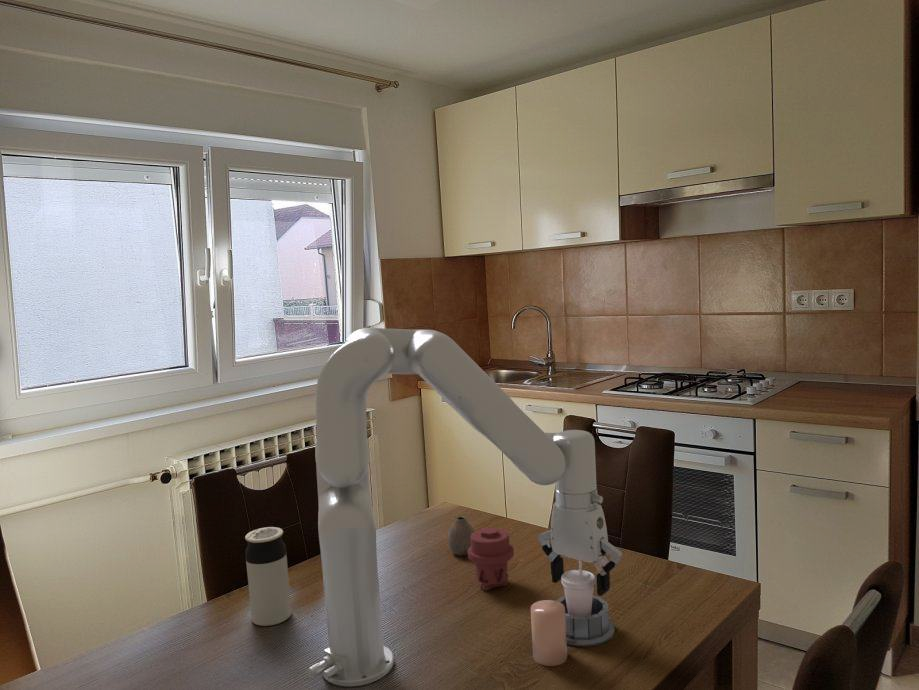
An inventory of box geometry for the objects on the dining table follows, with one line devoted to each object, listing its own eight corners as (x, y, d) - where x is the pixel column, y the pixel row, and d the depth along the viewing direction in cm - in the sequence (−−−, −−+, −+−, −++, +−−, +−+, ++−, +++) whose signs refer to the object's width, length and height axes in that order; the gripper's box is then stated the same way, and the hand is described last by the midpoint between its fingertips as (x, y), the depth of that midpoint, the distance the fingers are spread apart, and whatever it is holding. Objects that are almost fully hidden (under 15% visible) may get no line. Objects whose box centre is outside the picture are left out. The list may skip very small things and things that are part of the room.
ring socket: (594, 654, 124) (593, 628, 123) (537, 634, 131) (536, 610, 131) (626, 625, 133) (625, 601, 132) (571, 608, 140) (570, 585, 140)
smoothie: (603, 630, 130) (600, 558, 128) (571, 637, 128) (568, 563, 127) (588, 615, 136) (585, 545, 134) (557, 621, 134) (554, 550, 133)
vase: (445, 550, 174) (443, 515, 173) (471, 545, 176) (469, 511, 175) (453, 560, 168) (451, 524, 167) (480, 555, 170) (478, 520, 169)
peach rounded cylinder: (555, 669, 119) (552, 619, 119) (526, 659, 123) (523, 610, 122) (573, 654, 124) (571, 605, 123) (545, 644, 128) (542, 597, 127)
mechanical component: (471, 575, 159) (515, 574, 158) (467, 595, 149) (515, 594, 148) (468, 522, 158) (513, 521, 157) (464, 539, 148) (511, 538, 147)
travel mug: (298, 609, 147) (291, 527, 145) (279, 628, 139) (271, 541, 138) (265, 607, 149) (257, 525, 147) (244, 625, 142) (235, 539, 140)
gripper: (628, 499, 127) (631, 590, 128) (548, 485, 138) (552, 568, 140) (608, 512, 121) (612, 606, 123) (526, 495, 132) (530, 582, 134)
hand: (580, 586), depth 131 cm, fingers open, 9 cm apart
